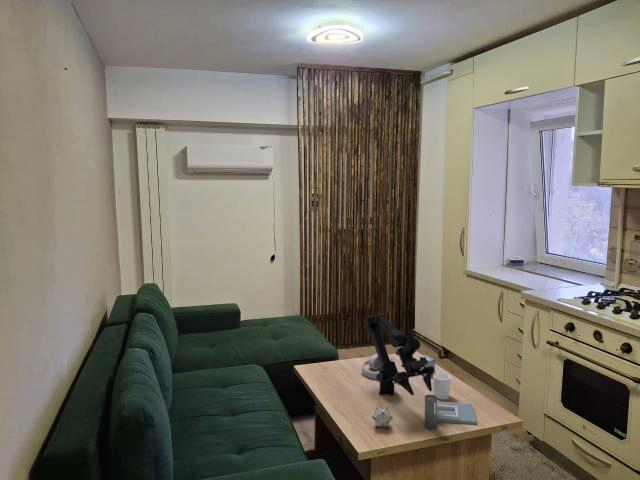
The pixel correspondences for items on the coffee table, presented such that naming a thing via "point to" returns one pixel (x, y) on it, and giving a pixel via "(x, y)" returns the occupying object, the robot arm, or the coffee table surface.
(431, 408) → the grey tall cup
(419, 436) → the coffee table surface
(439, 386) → the white cup
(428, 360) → the medicine box
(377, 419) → the game die
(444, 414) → the grey base plate
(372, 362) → the headphones
